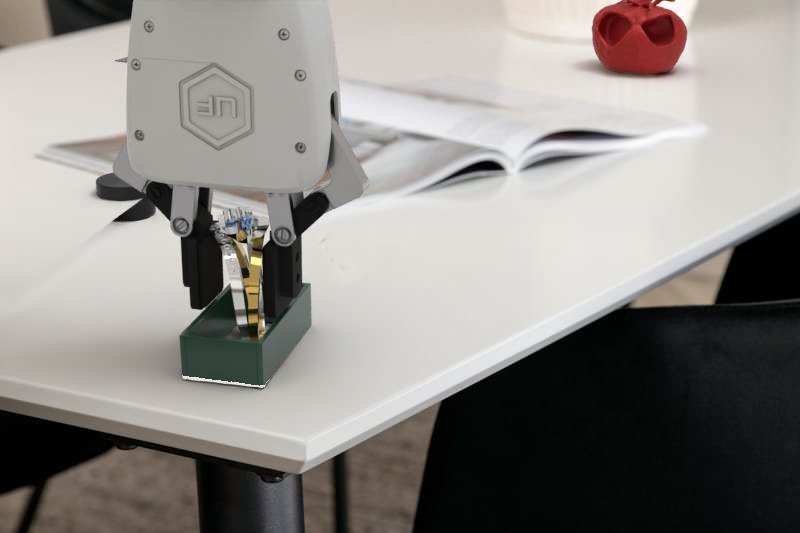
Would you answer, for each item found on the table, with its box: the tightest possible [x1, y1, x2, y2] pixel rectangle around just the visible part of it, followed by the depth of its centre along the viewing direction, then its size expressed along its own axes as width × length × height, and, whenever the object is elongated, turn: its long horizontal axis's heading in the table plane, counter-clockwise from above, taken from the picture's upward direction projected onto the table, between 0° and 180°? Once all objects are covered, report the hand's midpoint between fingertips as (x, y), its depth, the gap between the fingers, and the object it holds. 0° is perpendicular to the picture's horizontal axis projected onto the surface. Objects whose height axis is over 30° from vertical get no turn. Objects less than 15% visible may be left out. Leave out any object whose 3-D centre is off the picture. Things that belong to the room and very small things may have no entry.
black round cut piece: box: [95, 172, 157, 222], centre depth 89 cm, size 4×4×2 cm
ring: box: [209, 206, 270, 341], centre depth 66 cm, size 7×3×8 cm, turn 1°
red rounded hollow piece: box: [591, 0, 688, 75], centre depth 134 cm, size 10×10×9 cm
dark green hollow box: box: [178, 282, 313, 386], centre depth 68 cm, size 4×8×2 cm, turn 167°
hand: (243, 301), depth 67 cm, fingers open, 3 cm apart
